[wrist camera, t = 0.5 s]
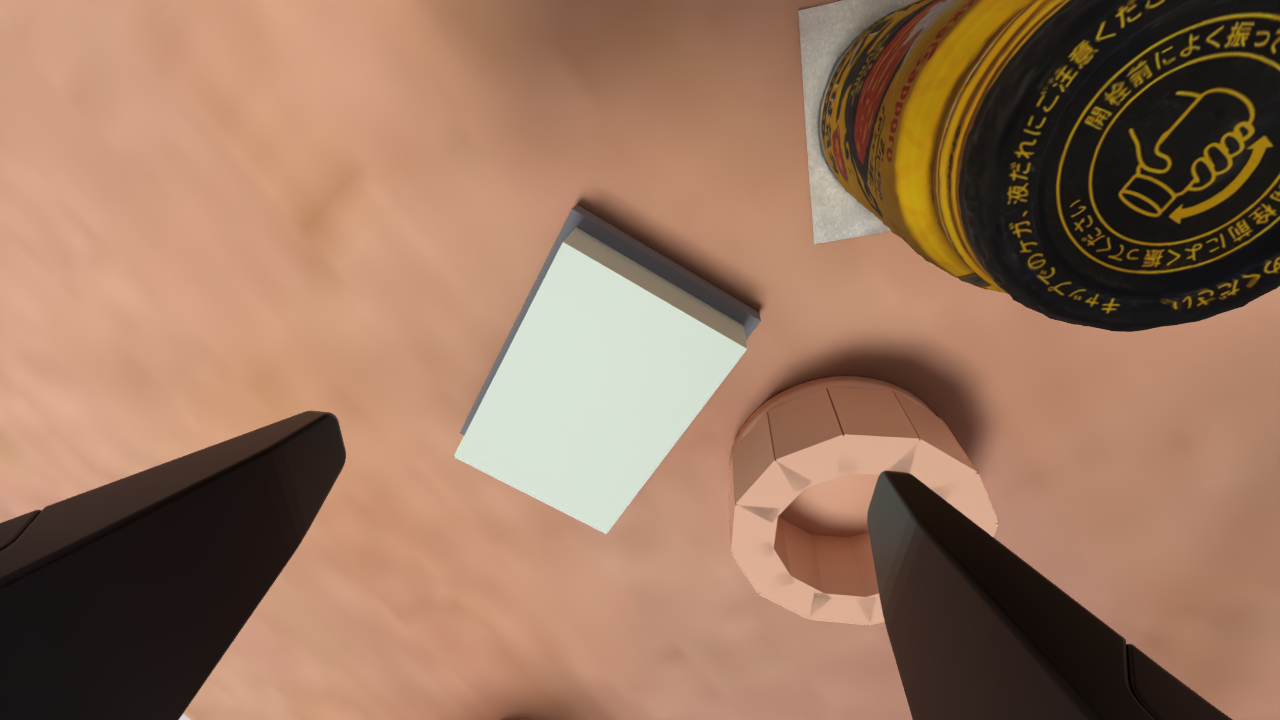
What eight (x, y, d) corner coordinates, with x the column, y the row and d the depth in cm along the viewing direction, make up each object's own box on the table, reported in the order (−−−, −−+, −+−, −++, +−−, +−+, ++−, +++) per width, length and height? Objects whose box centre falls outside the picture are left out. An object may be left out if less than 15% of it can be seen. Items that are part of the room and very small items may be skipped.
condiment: (797, 11, 17) (935, -91, 6) (1110, -64, 15) (1978, -363, 5) (812, 242, 20) (923, 430, 10) (1075, 200, 19) (1557, 369, 8)
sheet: (744, 325, 21) (747, 348, 19) (613, 502, 26) (606, 533, 24) (576, 227, 20) (562, 242, 18) (472, 429, 25) (453, 456, 23)
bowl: (998, 445, 23) (1054, 516, 19) (851, 573, 27) (874, 653, 23) (815, 336, 22) (837, 390, 18) (690, 488, 26) (687, 557, 22)
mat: (759, 312, 22) (760, 320, 21) (618, 501, 27) (615, 513, 26) (576, 204, 20) (572, 209, 20) (466, 423, 26) (460, 433, 25)
